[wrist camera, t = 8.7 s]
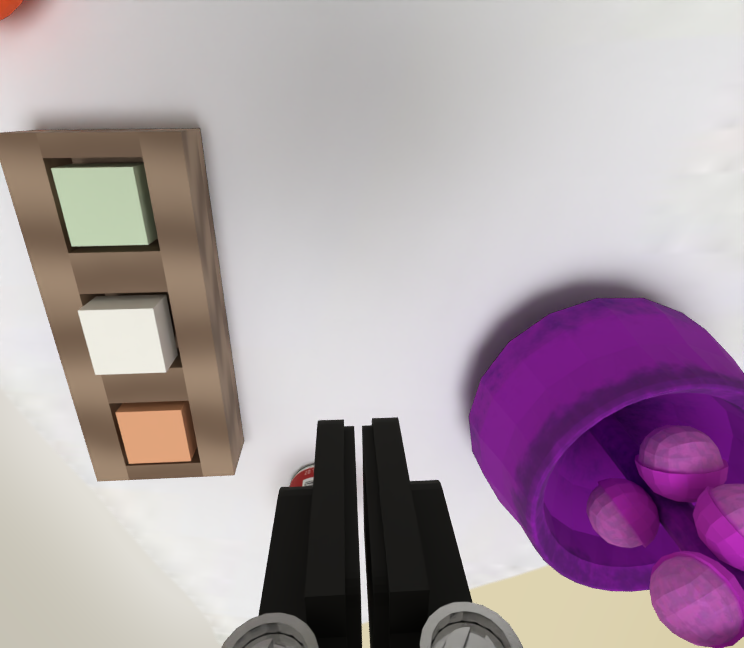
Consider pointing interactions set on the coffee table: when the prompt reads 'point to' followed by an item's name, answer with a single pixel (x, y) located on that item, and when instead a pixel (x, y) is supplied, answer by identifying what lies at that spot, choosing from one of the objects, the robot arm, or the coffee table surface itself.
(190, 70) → the coffee table surface
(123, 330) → the grey button
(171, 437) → the orange button
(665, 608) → the decorative plant
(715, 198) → the coffee table surface
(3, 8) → the tomato
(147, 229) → the sage button
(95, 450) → the frame
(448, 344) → the coffee table surface
